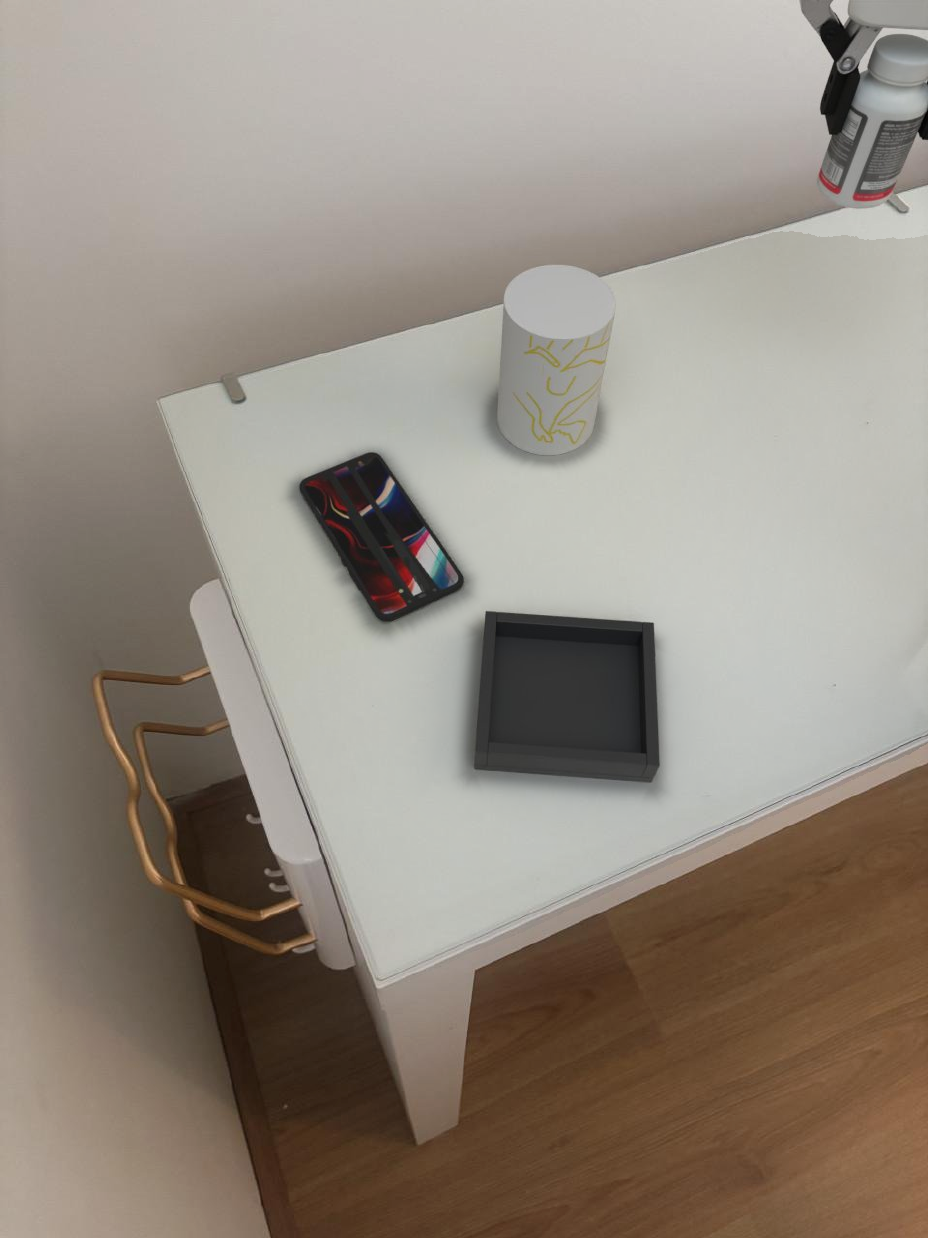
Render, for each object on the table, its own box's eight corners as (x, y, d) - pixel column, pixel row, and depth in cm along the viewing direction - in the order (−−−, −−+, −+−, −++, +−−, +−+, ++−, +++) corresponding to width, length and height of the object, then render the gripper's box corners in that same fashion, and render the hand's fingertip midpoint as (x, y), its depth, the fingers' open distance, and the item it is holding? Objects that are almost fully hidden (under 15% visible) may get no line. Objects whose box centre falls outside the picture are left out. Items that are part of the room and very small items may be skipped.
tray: (646, 642, 65) (654, 622, 63) (651, 782, 60) (659, 766, 57) (484, 631, 66) (485, 610, 63) (474, 769, 60) (474, 752, 58)
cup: (513, 463, 74) (523, 348, 64) (485, 393, 78) (490, 274, 68) (608, 444, 75) (632, 327, 65) (575, 376, 79) (593, 256, 69)
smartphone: (376, 448, 74) (468, 582, 67) (376, 453, 74) (468, 587, 67) (294, 481, 72) (380, 623, 65) (295, 487, 72) (380, 628, 66)
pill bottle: (895, 179, 68) (956, 37, 60) (882, 219, 65) (943, 76, 57) (823, 161, 69) (872, 20, 61) (807, 200, 66) (856, 58, 58)
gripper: (1155, -235, 50) (991, 104, 65) (834, -247, 50) (747, 91, 66) (1202, -184, 46) (1015, 165, 61) (852, -197, 46) (755, 150, 62)
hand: (877, 123), depth 63 cm, fingers closed on pill bottle, 5 cm apart
